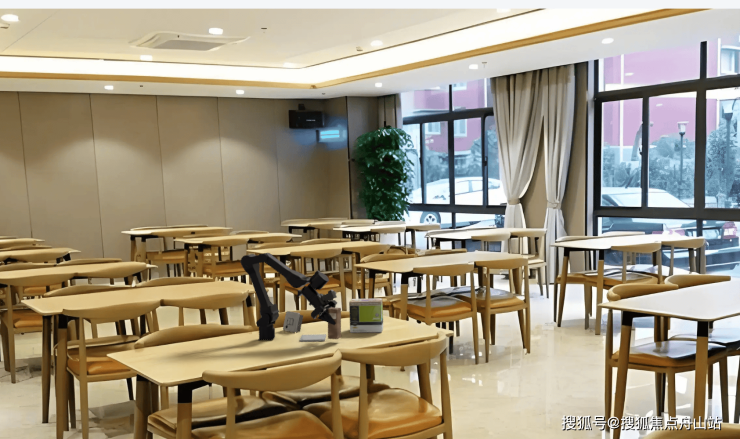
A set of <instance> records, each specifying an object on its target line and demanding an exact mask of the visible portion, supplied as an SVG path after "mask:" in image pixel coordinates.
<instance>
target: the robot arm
mask: <svg viewBox="0 0 740 439" xmlns="http://www.w3.org/2000/svg"><path fill="white" fill-rule="evenodd" d="M261 263H264V264H266V265H267V266H269V267H270V268H271V269H273V270H275V272H277V273H278V274H279V275H281V276H282V277H284V279H285V280H286V282H287V283H288V284H289V285H290V286H291V287H292V288H293V289H298V290H297V295H296V297H297V298H298V297H301V296H303V297H304V298H305V299H306V301H307V302H308V305H309V306H311V307H313V308H314V310H312V311H311V312H310V317H311V318H312V319H313V320H315V319H318V320H321V321H323V322H325V323H327V324H328V323H330V324H332V325H335V324H336V323H335V321H334V320H333V318H332V317H331V315H330V314H329V308H331V307H333V308H337V305H338V302H337V300H336V298H338V297H337V291H335V290H334V289H330V290H328V291H327V293H326V294H323V293H319V292H318V290H319V291H320V290H322V289H323V288H324V286H325V285H327V284H328V283H329V281H330V280H329V277H328V276H327V275H326V274H324V272H321V271H320V270H316V271H315V272H314V273H313V274H312V276H311V277H309V276H306V275H305V274H303V273H301V272H299V271H297V270H294V269H291V268H290V267H289V266H287V265H286V264H285V263H283V262H282V261H280V260H279V259H277V257H275V256H273V255H272V254H271V252H264V253H262V254H254V253H250V254H245V255H242V257H241V259H240V265H241V267H242V269H243V271H244V272H245V273H247V275H248V276H249V279H250V281H251V284H252V287H253V289H254V292H255V295H256V298H257V301H258V303H259V314H260V317H259V319H258V320H256V322H255V324H256V326H257V328H258V340H257V341H273V340H274V339H275V338H276V328H275V327H274V326H275V324H276V322H277V320H278V319H279V316H280V310H279V309H278V305H277V303H272V302H271V300H270V298H269V297H270V296H269V295H268V292H267V291H268V290H267V289H266V286H265V284H264V281H263V278H262V276H261V273H260V267H261V266H260V264H261ZM307 284H308V285H307ZM300 288H301V289H300Z"/></svg>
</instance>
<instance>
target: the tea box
mask: <svg viewBox="0 0 740 439" xmlns="http://www.w3.org/2000/svg"><path fill="white" fill-rule="evenodd" d="M348 303H349V307H348V308H349V332H350V333H382V332H383V329H384V310H383V309H384V307H383V306H384V305H383V298H381V297H380V298H351V300H350V301H349V302H348Z"/></svg>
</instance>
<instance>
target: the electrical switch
mask: <svg viewBox="0 0 740 439" xmlns="http://www.w3.org/2000/svg"><path fill="white" fill-rule="evenodd" d="M303 318H304V315H302V314H301V313H300V312H294V311H291V310H289V311H288V310H287V311H286V312H285V317H284V322H283V327H282V331H284V330H285V332H289V331H290V333H294V332H296V333H297V332H301V330H302V324H303V320H304V319H303Z"/></svg>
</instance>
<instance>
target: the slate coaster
mask: <svg viewBox="0 0 740 439" xmlns="http://www.w3.org/2000/svg"><path fill="white" fill-rule="evenodd" d="M326 338H327V334H320V333H319V334H316V333H315V334H301V336H300V338H299V342H303V343H304V342H326Z"/></svg>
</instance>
